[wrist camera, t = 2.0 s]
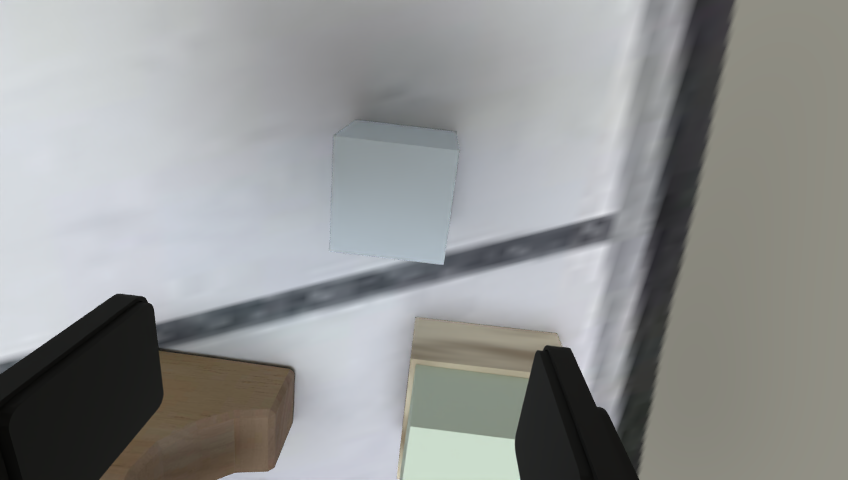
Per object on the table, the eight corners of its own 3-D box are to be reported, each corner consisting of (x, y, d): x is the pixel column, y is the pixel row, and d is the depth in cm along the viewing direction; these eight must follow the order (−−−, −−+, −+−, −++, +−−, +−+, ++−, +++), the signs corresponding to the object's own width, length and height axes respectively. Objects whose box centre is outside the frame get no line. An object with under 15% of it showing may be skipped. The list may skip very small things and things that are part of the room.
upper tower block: (415, 364, 28) (410, 426, 23) (562, 382, 28) (586, 448, 23) (400, 472, 31) (392, 545, 26) (531, 488, 31) (546, 564, 26)
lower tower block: (415, 315, 32) (411, 358, 27) (555, 331, 32) (575, 377, 27) (402, 424, 36) (396, 478, 31) (528, 438, 36) (541, 494, 31)
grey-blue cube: (356, 119, 27) (333, 135, 21) (456, 131, 27) (459, 150, 21) (350, 214, 29) (329, 251, 24) (443, 225, 29) (443, 264, 24)
